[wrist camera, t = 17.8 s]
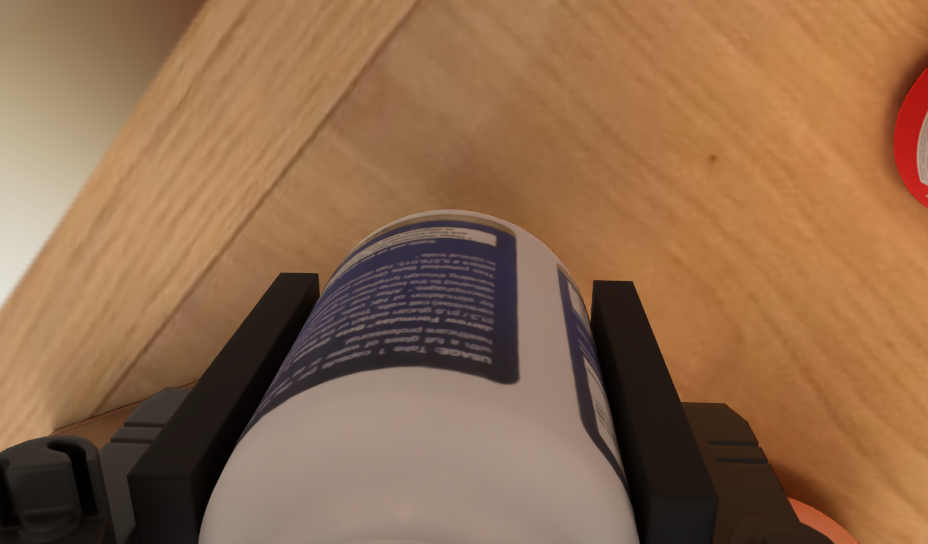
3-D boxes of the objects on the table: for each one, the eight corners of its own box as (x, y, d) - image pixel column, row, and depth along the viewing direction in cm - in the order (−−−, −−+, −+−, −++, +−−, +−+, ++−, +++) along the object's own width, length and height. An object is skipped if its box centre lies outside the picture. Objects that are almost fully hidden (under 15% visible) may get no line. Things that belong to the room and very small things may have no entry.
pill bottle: (276, 356, 16) (-29, 862, 7) (414, 148, 14) (244, 464, 5) (488, 482, 17) (463, 1077, 8) (642, 302, 15) (845, 803, 6)
